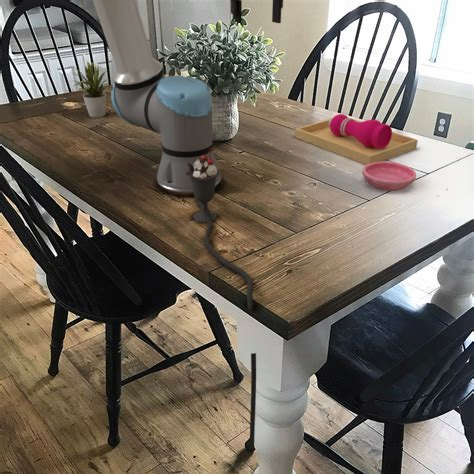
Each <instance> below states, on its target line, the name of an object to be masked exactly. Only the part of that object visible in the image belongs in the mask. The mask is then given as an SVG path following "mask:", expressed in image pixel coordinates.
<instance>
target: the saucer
mask: <svg viewBox="0 0 474 474" xmlns="http://www.w3.org/2000/svg"><path fill="white" fill-rule="evenodd" d="M361 171H362V175H363V178H364V179H365V180H366V181H367V183H368V184H369V185H370V186H371V187H373V188H375V189H378V190H382V191H388V192H394V191H395V192H396V191H402V190H404V189H406V188H407V187H408V186H411V185H412V183H414V182H415V181H416V179H417V173H416V171H415V170H414V169H413V168H411V167H410V166H408V165H406V164H402V163H398V162H393V161H381V162H374V163H370V164H367V165H366V164H365V166H363V168H362V170H361Z"/></svg>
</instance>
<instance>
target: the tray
mask: <svg viewBox="0 0 474 474" xmlns="http://www.w3.org/2000/svg"><path fill="white" fill-rule="evenodd" d="M347 117H348V118H350V117H349V116H347ZM353 119H354V118H353ZM330 120H332V118H328V119H325V120H321V121H318V122H315V123H314V122H313V123H311V124H307V125H303V126H300V127H297V128H295V130H294V137H295V138H296V139H299V140H302V141H304V142H306V143H309V144H312V145H314V146H316V147H320V148H322V149H325V150H327V151H330V152H333V153H335V154H337V155H340V156H343V157H345V158H348V159H351V160H353V161H355V162H358V163H361V164H363V165H365V166H366V165H367V164H370V163H374V162H385V161H386V160H389V159H391V158H395V157H397V156H400V155H403V154H405V153H408V152H411V151H414V150H417V147H418V142H419V139H416V138H414V137H410V136H408V135H405V134H402V133H398V132H395V131H392V137H391V140H390V142H389V144H388V145H387V146H386V147H385V148H383V149H380V148H376V147H367V146H364V145H363V144H361V143H360V142H359V141H358V140H357V139H356V138H355V137H353V136H349V137H346V136H336V135H334V134H333V133H332V132H331V130H330V125H329V121H330ZM354 120H355V122H362V121H360V120H358V119H356V118H355V119H354Z"/></svg>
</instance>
